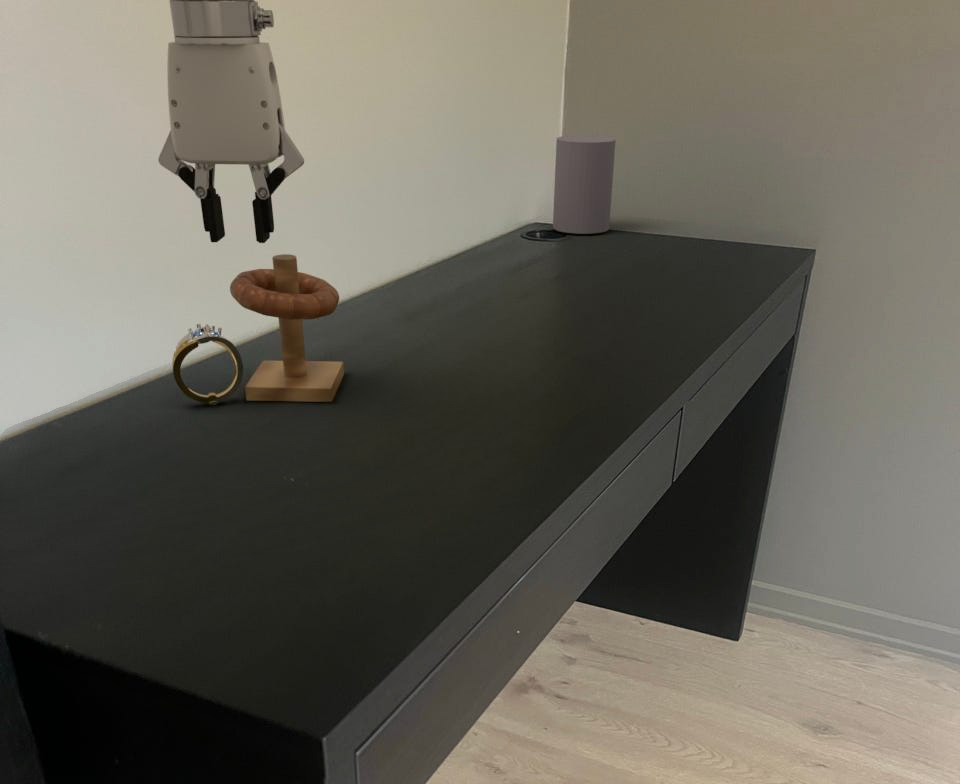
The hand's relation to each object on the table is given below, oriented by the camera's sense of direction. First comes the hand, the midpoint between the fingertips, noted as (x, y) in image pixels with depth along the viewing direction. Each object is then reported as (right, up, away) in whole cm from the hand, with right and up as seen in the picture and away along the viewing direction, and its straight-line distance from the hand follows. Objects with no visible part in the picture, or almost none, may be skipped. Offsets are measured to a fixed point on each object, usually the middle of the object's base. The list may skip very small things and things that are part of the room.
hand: (240, 238), depth 99 cm
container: (+42, +35, +82) cm, 99 cm away
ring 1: (-4, -16, +4) cm, 17 cm away
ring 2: (+4, -5, +3) cm, 7 cm away
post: (+4, -13, +8) cm, 16 cm away
